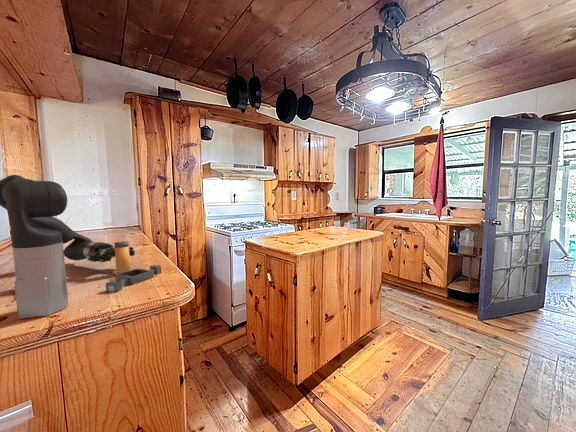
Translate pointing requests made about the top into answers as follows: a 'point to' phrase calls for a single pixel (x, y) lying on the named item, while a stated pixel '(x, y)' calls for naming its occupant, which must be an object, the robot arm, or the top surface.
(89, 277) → the top surface
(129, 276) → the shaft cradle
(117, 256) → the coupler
